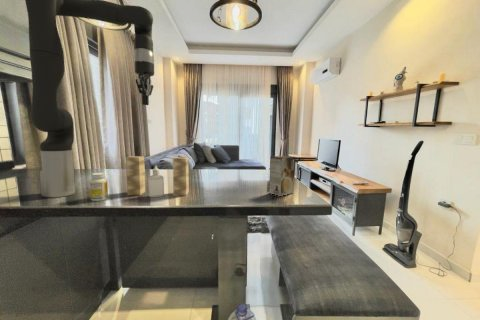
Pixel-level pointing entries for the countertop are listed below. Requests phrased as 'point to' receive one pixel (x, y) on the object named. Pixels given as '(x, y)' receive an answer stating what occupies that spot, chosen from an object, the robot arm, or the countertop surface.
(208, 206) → the countertop surface
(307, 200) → the countertop surface
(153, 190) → the eye dropper bottle
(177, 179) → the post right
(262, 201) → the countertop surface
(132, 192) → the post left
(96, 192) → the supplement bottle
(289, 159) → the coffee box
